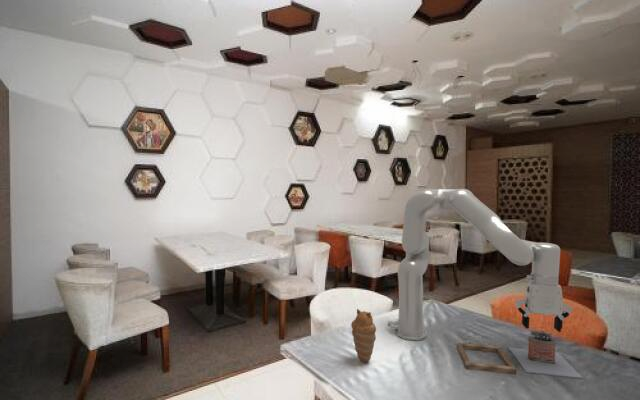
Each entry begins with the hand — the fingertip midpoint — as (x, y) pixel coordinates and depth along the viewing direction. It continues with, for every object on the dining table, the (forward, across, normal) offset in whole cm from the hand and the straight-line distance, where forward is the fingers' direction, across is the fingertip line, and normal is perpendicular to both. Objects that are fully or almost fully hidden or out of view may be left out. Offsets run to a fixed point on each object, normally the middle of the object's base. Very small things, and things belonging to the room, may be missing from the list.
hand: (541, 328), depth 111 cm
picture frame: (+12, -18, -2) cm, 22 cm away
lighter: (+12, +1, 0) cm, 12 cm away
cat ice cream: (+13, -59, -12) cm, 62 cm away
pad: (+12, +1, 0) cm, 12 cm away
